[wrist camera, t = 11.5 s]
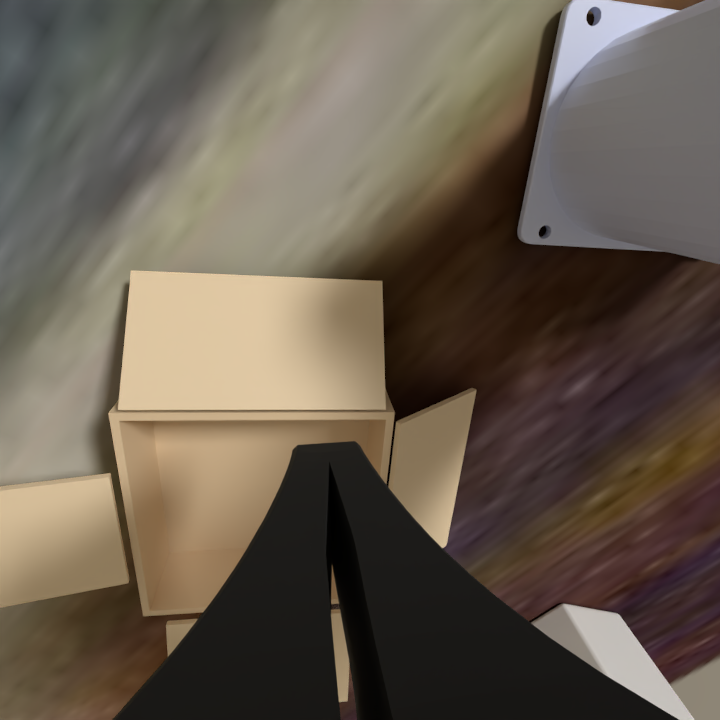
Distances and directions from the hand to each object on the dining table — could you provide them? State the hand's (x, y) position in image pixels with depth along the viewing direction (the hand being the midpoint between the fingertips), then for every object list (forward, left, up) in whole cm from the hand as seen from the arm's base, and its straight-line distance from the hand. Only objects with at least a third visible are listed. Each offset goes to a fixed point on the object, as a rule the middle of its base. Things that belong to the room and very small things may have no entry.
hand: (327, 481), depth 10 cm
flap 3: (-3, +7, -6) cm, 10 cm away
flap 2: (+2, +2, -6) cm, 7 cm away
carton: (+2, +7, -10) cm, 12 cm away
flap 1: (+7, +7, -6) cm, 12 cm away
